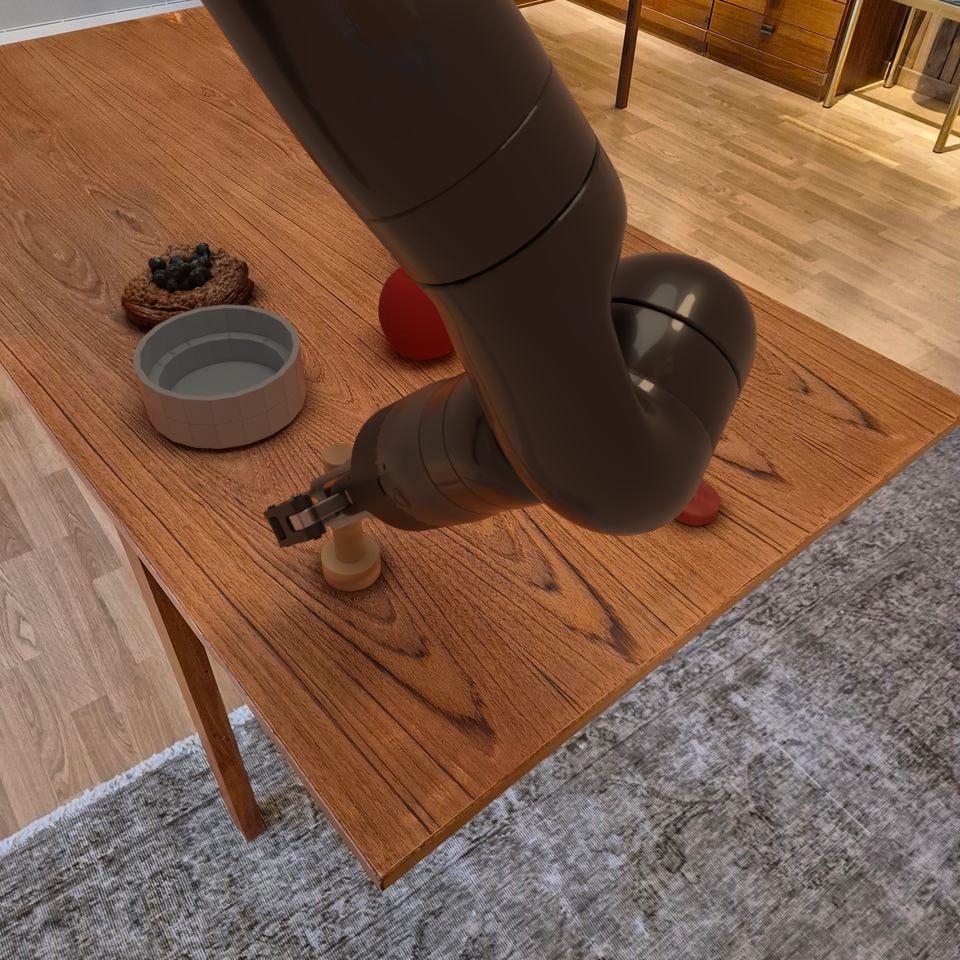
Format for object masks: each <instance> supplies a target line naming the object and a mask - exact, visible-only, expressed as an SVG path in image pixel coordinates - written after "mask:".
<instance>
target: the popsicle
mask: <svg viewBox="0 0 960 960" xmlns="http://www.w3.org/2000/svg"><path fill="white" fill-rule="evenodd" d="M721 504H722V501H721V497H720V494H719V493H718V491H717V490H716V489H715V488H714V487H713V486H712V485H711V484H710V483H708V482H707V481H705V479H702V480H701V483H700V485H699V487H698V489H697V491H696V493H695V495H694V496H693V497H692V499H691V500H690V502H689V503H688V505H687V506H686V508H685V509H684V510H683V511H682V512H681V513H680V514H679V515H678V516H677V517H676V518H675V519H674V520H677V521H678V522H680V523H682V524H685V525H688V526H694V527H700V526H704V525H705V526H706V525H708V524H710V523H712V522H713V521H714V520H716V518H717V516H718V513H719V510H720V507H721Z"/></svg>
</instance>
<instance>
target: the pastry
mask: <svg viewBox="0 0 960 960" xmlns="http://www.w3.org/2000/svg"><path fill="white" fill-rule="evenodd" d="M147 265H148V267H146V268H145V269H144V270H143V271H142V272H141V273H140V274H137V275H136V276H135V277H134V278H132V279H131V280H129V281H128V284H127V285H125V286H124V287H123V293H122V295H121V298H120V302H121V307H123V309H124V310H125V311H126V312H125V315H126V318H127V319H128V320H129V322H131V324H133V326H135V327H136V328H137V329H139V330H141V331H142V332H145V333H146V334H147V333H148V332H149V331H151V330H152V329H153V328H154V327H155V326H157V325H158V324H160V323H162V322H164V321H166V320H168V319H169V318H171V317H173V316H175V315H177V314H181V313H184V312H187V311H191V310H194V309H197V308H202V307H209V306H217V305H245V306H249V303H251V302H252V301H253V299H254V298H255V296H256V295H257V294H256V291H255V287H256V284H255V281H253V279H251V278H249V274H250V271H249V269H250V268H249V266H248V264H247V261H246V260H242V259H241V260H240V259H238V258H237V256H232V255H230V254H229V252H227V251H226V250H225V249H224V248H223V247H218V249H212V250H211V249H210V245H209V243H207V242H200V243H198V244H195V245H194V246H193V245H191V244H189V243H180V242H178V243H176V244H175V243H174V244H170V245H168V246H167V248H166V250H165V251H164V252H163V253H162V254H160V256H155V255H154V256H153V257H150V258H149V259H148V260H147Z"/></svg>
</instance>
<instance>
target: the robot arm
mask: <svg viewBox="0 0 960 960" xmlns="http://www.w3.org/2000/svg"><path fill="white" fill-rule="evenodd" d="M200 2H201V3H202V5H203V6H204V8H205V9H206V11H207V12H208V14H209V16H210V17H211V18H212V20H213V21H214V23H215V24H216V26H217V27H218V29H219V31H221V33H222V35H223V36H224V37H225V39H226V41H227V42H228V43H229V45H230V47H231V48H232V50H233V51H234V52H235V54H236V55H237V57H238V58H239V60H240V62H241V63H242V64H243V66H244V67H245V69H246V70H247V72H248V73H249V74H250V76H251V77H252V79H253V80H254V82H255V83H256V84H257V86H258V87H259V89H260V90H261V92H262V94H264V96H265V97H266V99H267V100H268V101H269V103H270V104H271V106H272V107H273V109H274V110H275V111H276V113H277V115H278V116H279V118H281V120H282V121H283V123H284V124H285V126H286V127H287V128H288V130H289V131H290V132H291V134H292V135H293V137H294V138H295V139H296V141H297V142H298V143H299V145H300V146H301V147H302V148H303V150H304V151H305V153H306V154H307V155H308V157H309V158H310V159H311V161H312V162H313V163H314V164H315V165H316V167H317V168H318V170H319V171H320V172H321V173H322V174H323V176H324V177H325V178H326V180H328V182H329V183H330V184H331V186H332V187H333V188H334V189H335V191H336V192H337V193H338V194H339V196H340V197H341V198H342V199H343V201H344V202H345V203H346V204H347V205H348V206H349V207H350V208H351V210H352V211H353V212H354V213H355V214H356V215H357V217H358V218H359V219H360V220H361V222H363V224H364V225H365V226H366V227H367V228H368V230H369V231H370V232H371V233H372V234H373V235H374V237H375V238H376V239H377V240H378V241H379V243H380V244H381V245H382V246H383V247H384V249H386V251H387V252H388V253H389V254H390V255H391V257H393V259H394V260H395V261H396V262H397V263H398V265H399V266H400V267H402V268H403V269H404V270H405V271H406V273H407V274H408V275H409V276H410V277H411V278H412V279H413V280H414V282H415V283H416V284H417V285H418V286H419V287H420V289H421V290H422V291H423V292H424V293H425V294H426V295H427V296H428V298H429V299H430V300H431V301H432V303H433V304H434V305H435V307H436V309H437V310H438V312H439V315H440V317H441V319H442V321H443V323H444V325H445V328H446V330H447V332H448V335H449V337H450V340H451V342H452V344H453V347H454V349H453V350H454V351H455V354H456V355H457V357H458V359H459V362H460V364H461V366H462V368H463V370H464V371H463V372H461V373H459V374H456V375H454V376H451V377H445V378H442V379H439V380H435V381H433V382H431V383H428V384H426V385H425V386H422V387H420V388H419V389H416V390H415V391H413V392H411V393H409V394H407V395H405V396H403V397H401V398H399V399H397V400H396V401H393V402H392V403H390V404H388V405H386V406H384V407H382V408H381V409H379V410H377V411H376V412H374V413H373V414H371V416H370V417H369V418H367V420H366V421H365V422H364V424H363V425H362V426H361V427H360V430H359V431H358V432H357V435H356V437H355V440H354V443H353V446H352V448H353V450H352V456H351V458H349V459H347V460H346V461H345V462H344V464H343V466H341V467H338V468H336V469H334V470H332V471H330V472H327V473H325V472H324V473H323V474H322V475H319V476H317V477H315V478H313V479H311V481H310V483H309V489H307V490H305V491H302V492H301V493H298V492H296V493H294V494H292V495H290V496H289V497H290V498H289V499H287V500H284V501H282V502H280V504H277V505H276V504H272V505H269V506H268V507H266V509H267V510H265V511H263V512H262V514H263V517H264V518H265V520H267V522H268V525H269V526H270V529H271V530H272V533H273V534H274V536H275V538H276V542H277V544H278V546H279V548H280V549H282V548H289V547H291V546H295V545H298V544H302V543H305V542H310V541H312V540H313V541H317V540H319V539H321V538H323V535H324V534H326V533H327V527H329V528H330V529H331V530H332V529H333V530H339V529H341V528H343V527H346V526H348V525H350V524H353V523H355V522H358V521H360V520H362V521H363V520H364V519H366V518H368V519H369V518H370V519H373V520H375V519H378V520H379V521H381V522H382V523H384V524H386V525H387V526H389V527H392V528H394V529H397V530H401V531H405V532H413V533H414V532H425V531H432V530H436V529H443V528H448V527H455V526H460V525H467V524H473V523H476V522H480V521H484V520H488V519H490V518H492V517H495V516H496V515H498V514H500V513H504V512H511V511H515V510H521V509H527V508H532V507H537V506H542V505H545V506H546V507H547V508H548V509H549V510H551V511H552V512H554V513H555V514H556V515H558V516H559V517H561V518H562V519H564V520H566V522H569V523H571V524H573V525H574V526H577V527H579V528H581V529H583V530H587V531H589V532H593V533H596V534H600V535H605V536H612V537H635V536H640V535H644V534H649V533H652V532H655V531H657V530H659V529H661V528H663V527H665V526H666V525H668V524H670V523H671V522H673V521H674V520H676V519H675V518H676V517H677V516H678V515H679V514H680V513H681V512H682V511H683V510H684V509H685V508H686V506H687V505H688V503H689V502H690V500H691V499H692V497H693V496H694V495H695V493H696V491H697V489H698V487H699V485H700V483H701V480H703V479H704V476H705V474H706V472H707V469H708V467H709V465H710V462H711V460H712V457H713V455H714V453H715V452H716V449H717V446H718V444H719V442H720V440H721V438H722V436H723V434H724V430H725V429H726V426H727V424H728V423H729V420H730V418H731V415H732V413H733V411H734V409H735V407H736V404H737V403H738V400H739V398H740V396H741V393H742V391H743V389H744V387H745V385H746V383H747V380H748V378H749V376H750V373H751V370H752V367H753V365H754V360H755V356H756V351H757V345H758V325H757V319H756V315H755V312H754V308H753V307H752V305H751V302H750V300H749V299H748V296H747V295H746V292H744V290H743V289H742V288H741V286H740V285H739V284H738V282H736V281H735V280H734V279H733V277H731V275H729V274H728V273H726V272H725V271H723V270H722V269H721V268H719V267H717V266H716V265H715V264H713V263H711V262H708V261H707V260H704V259H701V258H699V257H696V256H693V255H689V254H687V253H686V254H684V253H681V252H680V253H679V252H671V251H648V252H639V253H633V254H629V255H625V256H622V255H621V254H622V250H623V247H624V242H625V237H626V231H627V225H628V202H627V197H626V194H625V190H624V189H625V188H624V187H623V184H622V181H621V179H620V176H619V175H618V174H619V173H618V172H617V170H616V168H615V166H614V164H613V162H612V161H611V159H610V157H609V154H608V153H607V152H606V150H605V148H604V147H603V145H602V143H601V141H600V140H599V138H598V136H597V134H596V133H595V131H594V129H593V128H592V126H591V125H590V124H591V123H589V121H588V120H587V118H586V116H585V114H584V113H583V110H582V109H581V108H580V106H579V104H578V102H577V100H575V97H574V96H573V95H572V92H571V91H570V90H569V88H568V86H567V85H566V83H565V81H564V79H563V78H562V76H561V74H560V73H559V70H558V69H557V68H556V65H555V64H554V62H553V61H552V59H551V58H550V57H549V55H548V52H547V50H546V49H545V48H544V46H543V44H542V43H541V42H540V39H539V38H538V36H537V35H536V33H535V32H534V30H533V28H532V26H531V25H530V24H529V22H528V21H527V19H526V18H525V16H524V15H523V13H522V12H521V10H520V9H519V7H518V6H517V4H516V2H515V1H514V0H200ZM621 256H622V257H621ZM349 472H350V473H349ZM347 473H349V474H347ZM344 474H347V475H345V476H344V477H342V478H340V479H339V480H337V481H336V482H334V479H336V478H338V477H340V476H342V475H344ZM333 482H334V484H333ZM312 498H314V499H316V501H317V502H315V503H314V501H313V499H312Z"/></svg>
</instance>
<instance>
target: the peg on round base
mask: <svg viewBox="0 0 960 960" xmlns="http://www.w3.org/2000/svg"><path fill="white" fill-rule="evenodd" d="M352 450H353V446H351V445H349V444H348V443H347V444H346V443H339V442H338V443H333V444H330V445H328V446H327V447H326V448H325V449H324V450H323V451H322V455H321V457H322V464H323V465H322V466H323V471H324V472H323V473H324V474H325V473H327V472H330V471H332V470H334V469H336V468H338V467H341V466H343V464H344V462H345V461H346V460H347V459H349V458H351V456H352ZM349 473H350V472H349ZM349 473H347V474H349ZM347 474H344V475H342V476H340V477H338V478H336V479H334V482H336V481H337V480H339V479H340V478H342V477H344V476H345V475H347ZM334 482H333V484H334ZM331 532H332V536H331V537H329V538H328V539H327V541H326V542H324V544H323V546H322V548H321V551H320V561H321V567H322V574H323V575H322V576H323V578H324V580H325V581H326V583H327V584H328V585H329V586H331V587H332V588H334V589H336V590H339V591H341V592H357V591H361V590H364V589H367V588H368V587H370V586H371V585H373V584H374V583H375V582H376V581H377V579H378V578H379V576H380V574H381V572H382V571H381V569H382V565H381V564H382V563H381V552H380V546H379V544H378V542H377V541H376V539H375V538H374V537H372V536H371V535H369V534H367V533H365V532H364V529H363V519H362V520H360V521H358V522H355V523H353V524H350V525H348V526H346V527H343V528H341V529H339V530H333V529H332V528H331Z"/></svg>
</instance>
